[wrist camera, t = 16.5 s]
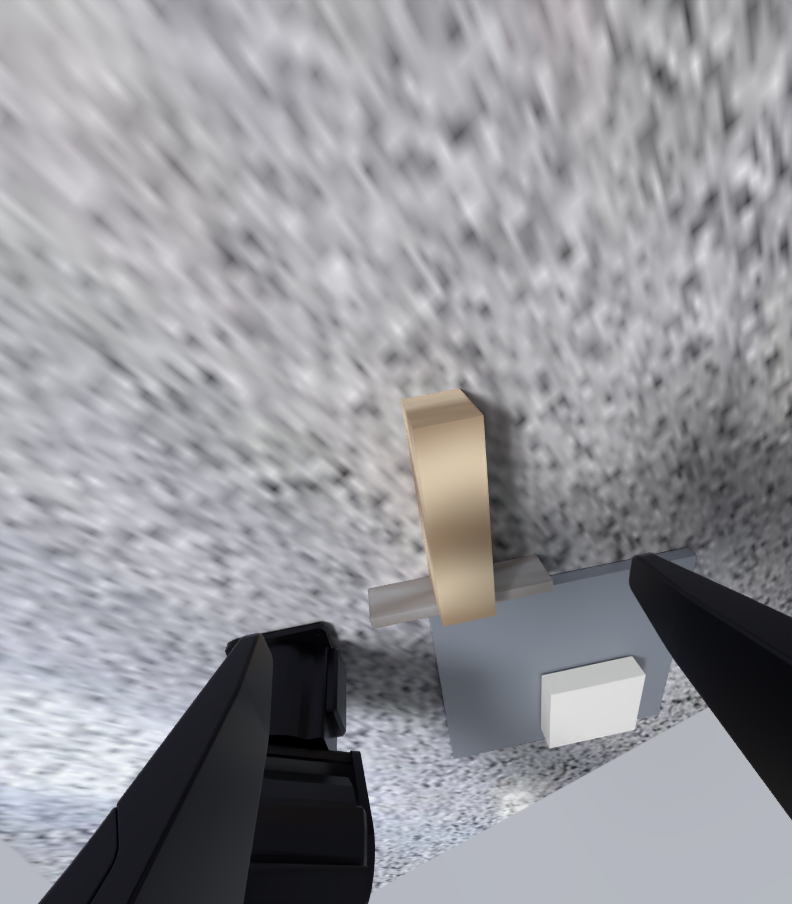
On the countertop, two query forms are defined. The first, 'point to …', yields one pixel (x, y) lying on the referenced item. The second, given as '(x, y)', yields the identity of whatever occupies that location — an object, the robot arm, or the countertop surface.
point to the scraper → (453, 522)
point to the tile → (591, 701)
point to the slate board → (544, 653)
